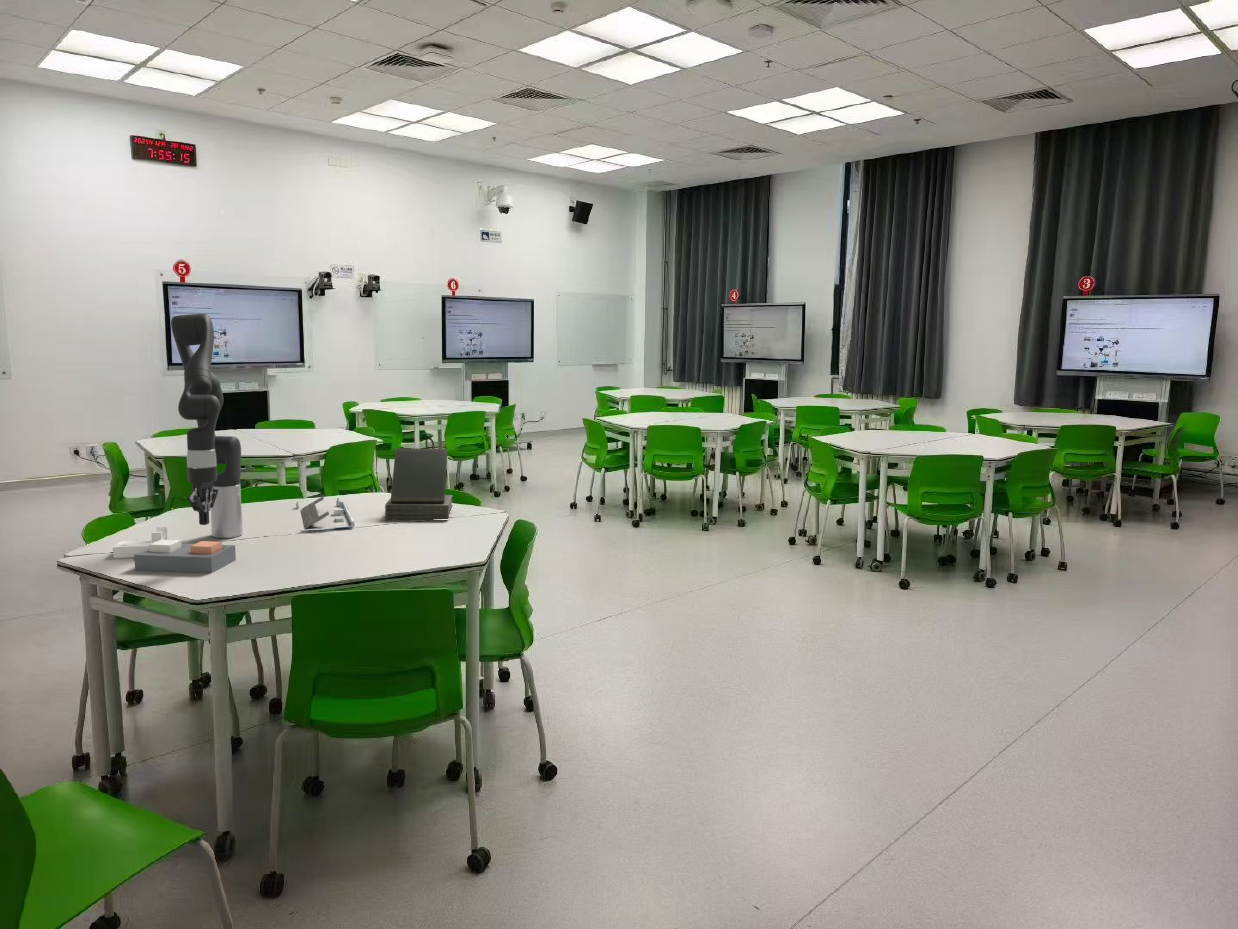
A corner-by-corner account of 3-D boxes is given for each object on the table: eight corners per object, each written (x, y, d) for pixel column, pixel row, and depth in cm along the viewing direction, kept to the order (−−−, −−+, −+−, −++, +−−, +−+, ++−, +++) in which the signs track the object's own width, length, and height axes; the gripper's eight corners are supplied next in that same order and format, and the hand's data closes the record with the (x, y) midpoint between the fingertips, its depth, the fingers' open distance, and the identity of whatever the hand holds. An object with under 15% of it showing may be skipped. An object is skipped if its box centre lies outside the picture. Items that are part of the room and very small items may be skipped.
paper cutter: (344, 506, 331) (344, 492, 330) (356, 531, 290) (355, 516, 289) (295, 508, 324) (295, 494, 323) (300, 534, 283) (300, 519, 282)
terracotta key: (201, 552, 244) (201, 541, 244) (222, 553, 244) (221, 541, 244) (191, 558, 238) (190, 546, 238) (211, 558, 238) (211, 546, 238)
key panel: (163, 557, 249) (162, 542, 248) (235, 560, 249) (235, 545, 248) (135, 570, 235) (134, 554, 235) (212, 573, 235) (211, 557, 234)
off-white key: (161, 551, 245) (160, 539, 244) (181, 551, 245) (181, 540, 244) (149, 556, 239) (149, 544, 238) (170, 557, 239) (169, 545, 238)
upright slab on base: (385, 521, 307) (384, 454, 303) (393, 510, 326) (392, 447, 322) (448, 521, 309) (448, 454, 306) (452, 510, 329) (452, 447, 325)
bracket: (167, 551, 258) (166, 527, 256) (162, 556, 251) (160, 532, 250) (120, 552, 254) (119, 528, 253) (113, 558, 247) (112, 534, 246)
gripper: (201, 461, 244) (203, 519, 246) (176, 467, 231) (178, 528, 233) (226, 462, 244) (228, 520, 246) (202, 468, 231) (205, 529, 233)
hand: (204, 524), depth 240 cm, fingers closed
